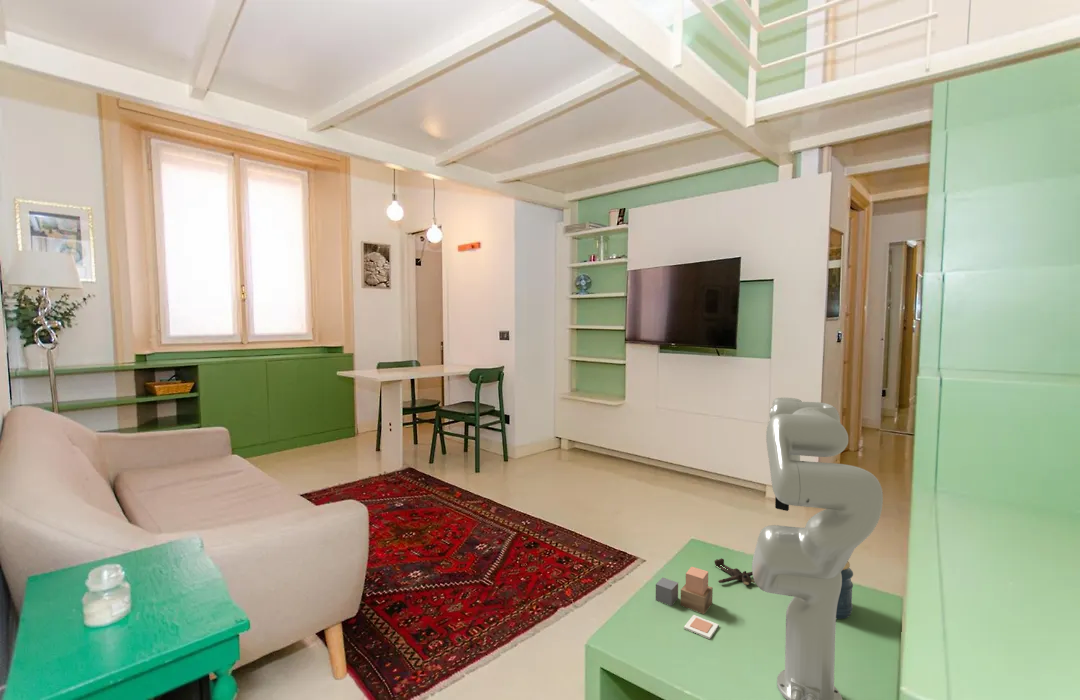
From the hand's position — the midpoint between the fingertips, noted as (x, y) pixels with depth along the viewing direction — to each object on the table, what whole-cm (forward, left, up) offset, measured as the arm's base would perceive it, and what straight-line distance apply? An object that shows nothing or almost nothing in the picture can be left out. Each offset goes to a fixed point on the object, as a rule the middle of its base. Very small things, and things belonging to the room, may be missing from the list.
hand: (785, 504), depth 128 cm
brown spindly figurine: (+17, +18, -34) cm, 42 cm away
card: (-17, +17, -33) cm, 41 cm away
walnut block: (-7, +22, -34) cm, 41 cm away
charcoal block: (-10, +30, -33) cm, 46 cm away
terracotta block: (-7, +22, -28) cm, 37 cm away
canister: (+16, -8, -34) cm, 38 cm away
